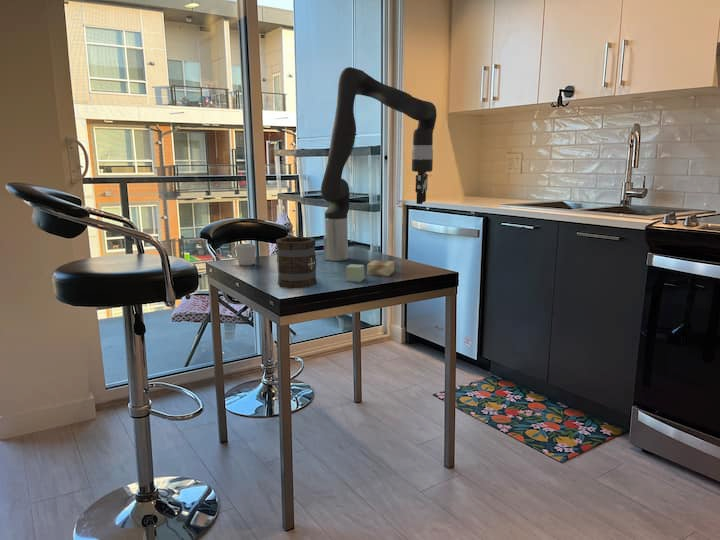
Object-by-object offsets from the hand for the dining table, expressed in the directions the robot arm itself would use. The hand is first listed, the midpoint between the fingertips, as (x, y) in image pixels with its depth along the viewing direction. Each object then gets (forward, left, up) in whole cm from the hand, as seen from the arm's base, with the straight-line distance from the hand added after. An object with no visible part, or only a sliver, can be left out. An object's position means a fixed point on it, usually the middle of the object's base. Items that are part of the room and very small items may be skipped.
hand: (421, 202), depth 193 cm
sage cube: (-19, -24, -25) cm, 39 cm away
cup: (-70, -9, -25) cm, 75 cm away
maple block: (-13, -11, -25) cm, 30 cm away
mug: (-37, -31, -25) cm, 54 cm away
